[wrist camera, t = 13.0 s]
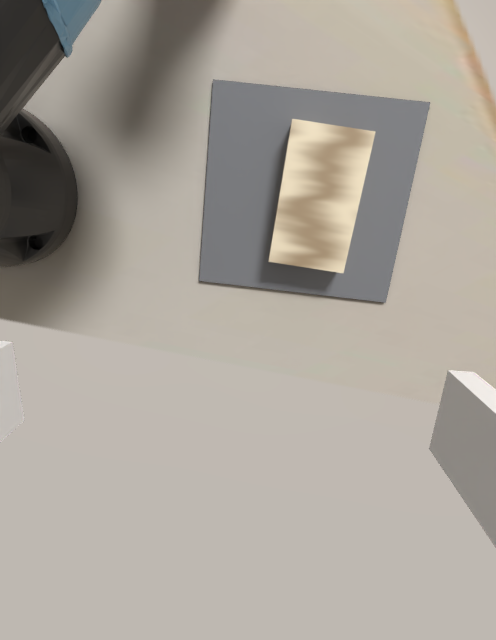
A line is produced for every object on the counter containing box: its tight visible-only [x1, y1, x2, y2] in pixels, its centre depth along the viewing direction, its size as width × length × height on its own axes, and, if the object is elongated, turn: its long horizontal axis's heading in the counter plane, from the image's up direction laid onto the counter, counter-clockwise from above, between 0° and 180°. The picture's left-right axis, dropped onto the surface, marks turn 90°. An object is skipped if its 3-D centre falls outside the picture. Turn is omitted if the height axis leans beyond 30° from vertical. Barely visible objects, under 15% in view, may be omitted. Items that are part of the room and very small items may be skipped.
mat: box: [199, 79, 430, 303], centre depth 35 cm, size 19×18×1 cm
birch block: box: [269, 119, 375, 273], centre depth 34 cm, size 7×2×12 cm
